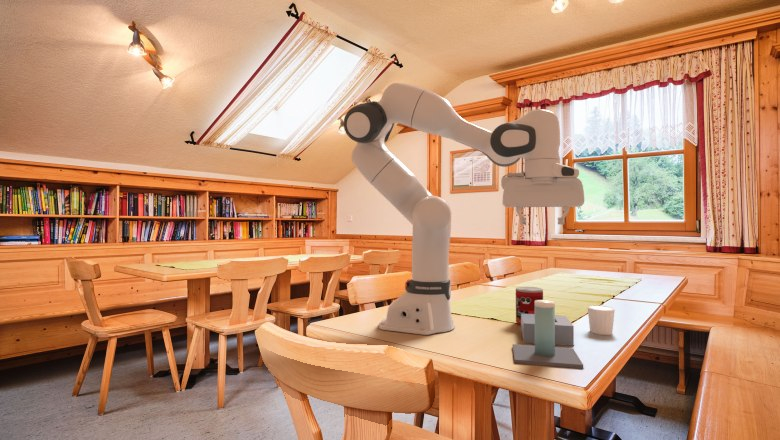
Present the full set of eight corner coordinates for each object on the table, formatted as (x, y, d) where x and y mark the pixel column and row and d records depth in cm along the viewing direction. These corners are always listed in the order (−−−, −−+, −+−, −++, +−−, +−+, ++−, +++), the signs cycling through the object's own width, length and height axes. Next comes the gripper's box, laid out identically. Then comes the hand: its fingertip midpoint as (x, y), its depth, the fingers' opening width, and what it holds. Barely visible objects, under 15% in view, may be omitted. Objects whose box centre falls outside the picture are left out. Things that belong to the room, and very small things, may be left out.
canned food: (511, 321, 129) (511, 286, 130) (536, 320, 130) (535, 286, 130) (522, 327, 122) (522, 290, 122) (547, 326, 123) (547, 290, 123)
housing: (523, 342, 107) (523, 323, 107) (521, 330, 118) (520, 313, 118) (573, 345, 104) (573, 326, 104) (565, 333, 115) (565, 315, 115)
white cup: (583, 329, 120) (583, 305, 120) (607, 329, 120) (607, 305, 120) (594, 335, 113) (594, 310, 113) (619, 335, 113) (619, 310, 113)
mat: (514, 363, 91) (514, 359, 91) (512, 347, 102) (512, 344, 102) (583, 368, 87) (583, 364, 87) (573, 351, 99) (572, 348, 99)
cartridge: (535, 355, 93) (535, 303, 94) (533, 349, 98) (533, 299, 98) (556, 357, 92) (556, 304, 92) (553, 351, 97) (553, 300, 97)
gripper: (501, 171, 108) (501, 224, 108) (585, 169, 103) (585, 224, 103) (501, 174, 114) (501, 224, 114) (581, 172, 109) (581, 224, 109)
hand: (541, 224), depth 108 cm, fingers open, 8 cm apart
